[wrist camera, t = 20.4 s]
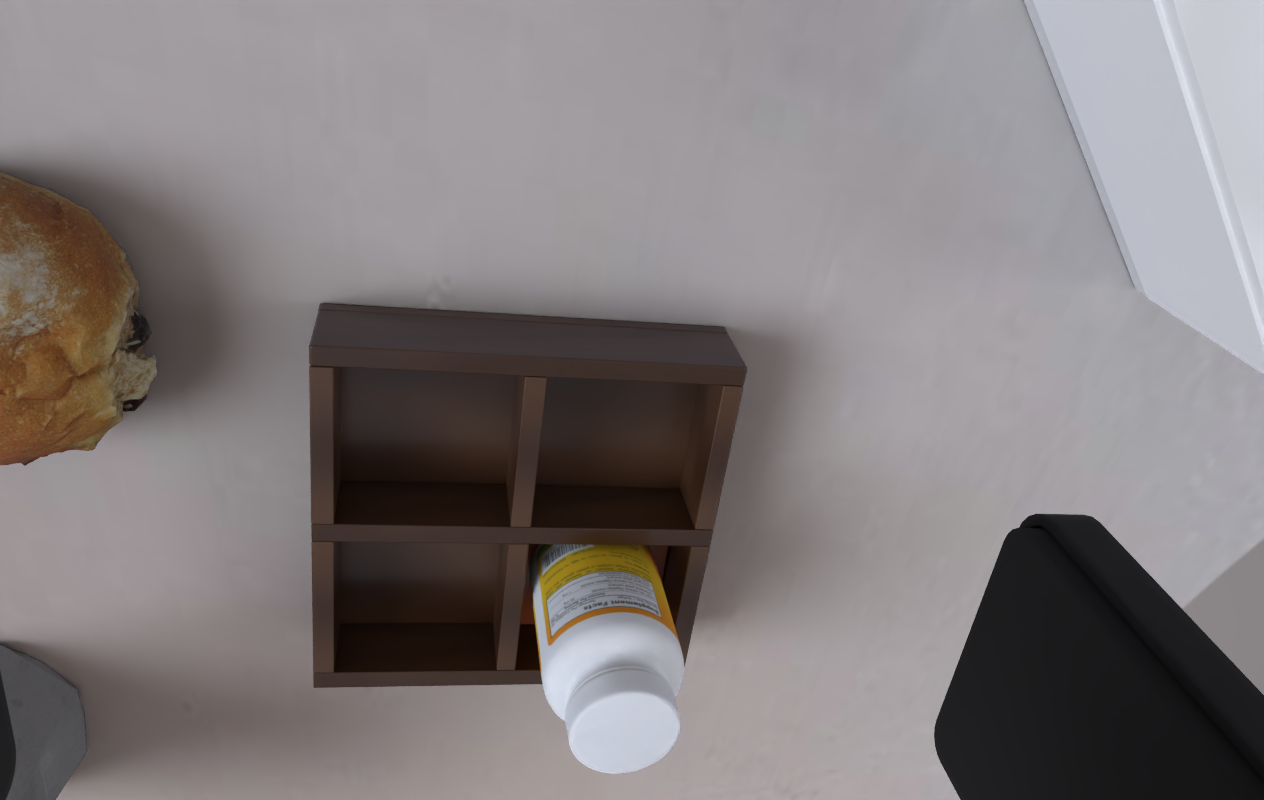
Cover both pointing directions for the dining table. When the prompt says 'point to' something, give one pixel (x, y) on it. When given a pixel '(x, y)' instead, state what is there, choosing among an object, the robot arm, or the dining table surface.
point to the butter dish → (1173, 147)
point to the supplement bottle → (607, 652)
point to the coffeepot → (41, 726)
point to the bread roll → (64, 327)
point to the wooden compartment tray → (499, 477)
